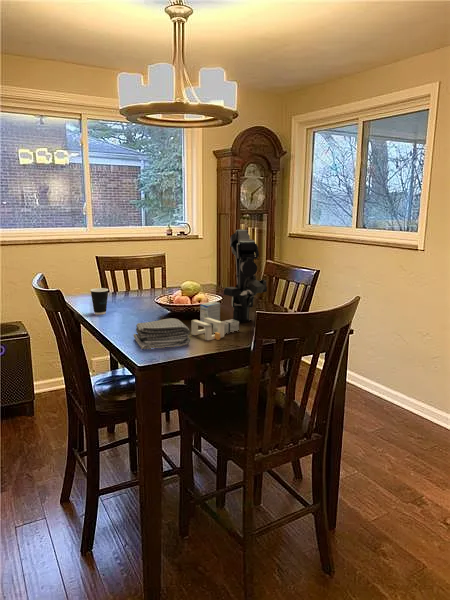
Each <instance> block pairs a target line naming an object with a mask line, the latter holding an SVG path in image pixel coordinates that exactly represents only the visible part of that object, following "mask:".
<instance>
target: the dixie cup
mask: <svg viewBox="0 0 450 600" xmlns="http://www.w3.org/2000/svg"><path fill="white" fill-rule="evenodd" d="M89 291H90V295H91V302H92V308H93V312H94V315H99V316H101V315H102V316H103V315H106V312H107V305H108V291H109V288H105V287H101V288H100V287H97V288H91V289H89Z"/></svg>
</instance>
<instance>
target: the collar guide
mask: <svg viewBox="0 0 450 600" xmlns="http://www.w3.org/2000/svg"><path fill="white" fill-rule="evenodd" d="M210 323H213V324H216V325H218V332H215V334H214V333H213V325H211V324H210ZM190 324H191V325H190V326H191V328H190V329H191V335H192V336H197V335H203V334H204V340H205V341H211V340H217V341H220V340H221V339H222V338H225V334H224V322H221V320H220V321H218V320H215V319H212V318H209V317H207V318H204V322H202V321H200V320H198V319H192V320H191V323H190ZM199 327H202V328H203V329H199ZM212 333H213V334H212Z"/></svg>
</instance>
